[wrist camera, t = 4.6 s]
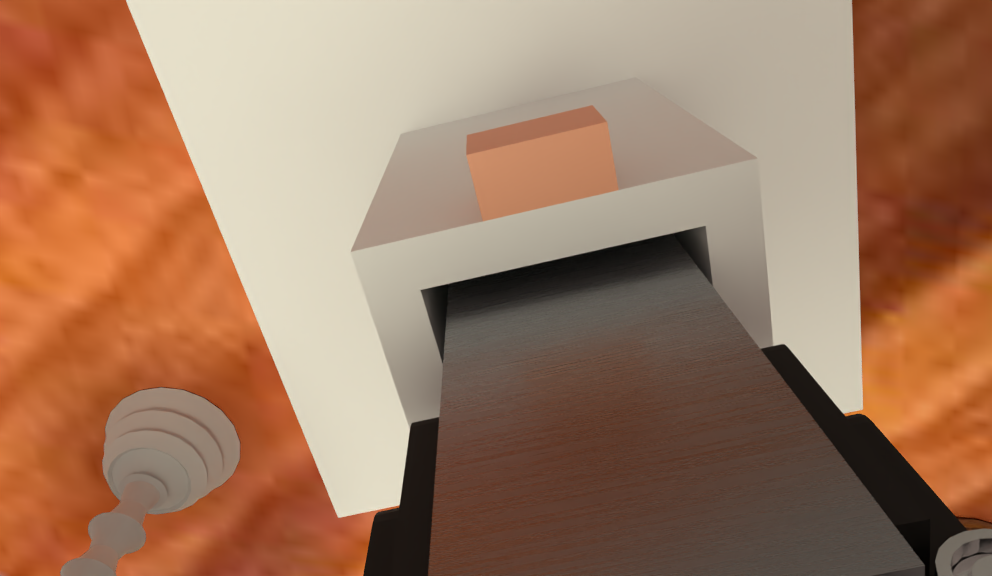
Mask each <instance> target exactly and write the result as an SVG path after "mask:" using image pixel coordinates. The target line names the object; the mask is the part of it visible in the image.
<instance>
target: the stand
mask: <svg viewBox="0 0 992 576" xmlns="http://www.w3.org/2000/svg"><path fill="white" fill-rule="evenodd" d="M126 2H127V4H128V7H129V9H130V11H131V14H132V16H133V19H134V21H135V24H136V26H137V28H138V31H139V33H140V36H141V38H142V41H143V43H144V46H145V48H146V50H147V53H148V55H149V58H150V60H151V63H152V65H153V67H154V70H155V72H156V75H157V77H158V80H159V82H160V85H161V87H162V89H163V92H164V94H165V97H166V99H167V102H168V104H169V106H170V109H171V111H172V114H173V116H174V119H175V121H176V124H177V126H178V128H179V131H180V133H181V136H182V138H183V141H184V143H185V145H186V148H187V150H188V153H189V155H190V158H191V160H192V163H193V165H194V167H195V170H196V172H197V175H198V177H199V180H200V182H201V184H202V187H203V189H204V192H205V194H206V197H207V199H208V202H209V204H210V206H211V209H212V211H213V214H214V216H215V219H216V221H217V223H218V226H219V228H220V231H221V233H222V236H223V238H224V241H225V243H226V245H227V248H228V250H229V253H230V255H231V258H232V260H233V262H234V265H235V267H236V270H237V272H238V275H239V277H240V280H241V282H242V284H243V287H244V289H245V292H246V294H247V297H248V299H249V301H250V304H251V306H252V309H253V311H254V314H255V316H256V319H257V321H258V323H259V326H260V328H261V331H262V333H263V336H264V338H265V340H266V343H267V345H268V348H269V350H270V353H271V355H272V358H273V360H274V362H275V365H276V367H277V370H278V372H279V375H280V377H281V379H282V382H283V384H284V387H285V389H286V392H287V394H288V397H289V399H290V401H291V404H292V406H293V409H294V411H295V414H296V416H297V418H298V421H299V423H300V426H301V428H302V431H303V433H304V436H305V438H306V440H307V443H308V445H309V448H310V450H311V453H312V455H313V457H314V460H315V462H316V465H317V467H318V470H319V472H320V474H321V477H322V479H323V482H324V484H325V487H326V489H327V492H328V494H329V496H330V499H331V501H332V504H333V506H334V509H335V511H336V513H337V516H338V518H340V517H345V516H349V515H354V514H359V513H364V512H369V511H374V510H379V509H383V508H388V507H393V506H398V505H400V499H401V492H402V484H403V477H404V470H405V462H406V455H407V448H408V440H409V433H410V426H411V423H413V422H418V421H422V420H427V419H432V418H436V417H439V415H440V401H441V387H442V373H443V359H444V345H445V331H446V317H447V303H448V289H449V283H454V282H458V281H463V280H467V279H471V278H476V277H480V276H485V275H489V274H494V273H498V272H503V271H507V270H511V269H516V268H520V267H525V266H529V265H534V264H538V263H542V262H547V261H551V260H556V259H560V258H565V257H569V256H573V255H578V254H582V253H587V252H591V251H596V250H600V249H605V248H609V247H613V246H618V245H622V244H627V243H631V242H636V241H640V240H644V239H649V238H653V237H658V236H662V235H667V234H671V233H672V234H673V235H674V236H675V237H676V239H677V240H678V241H679V243H680V244H681V245H682V247H683V248H684V249H685V251H686V252H687V253H688V255H689V256H690V257H691V258H692V260H693V261H694V262H695V264H696V265H697V266H698V268H699V269H700V270H701V272H702V273H703V274H704V276H705V277H706V278H707V280H708V281H709V282H710V283H711V285H712V286H713V287H714V289H715V290H716V291H717V293H718V294H719V295H720V297H721V298H722V299H723V301H724V302H725V303H726V305H727V306H728V307H729V308H730V310H731V311H732V312H733V314H734V315H735V316H736V318H737V319H738V320H739V322H740V323H741V324H742V326H743V327H744V328H745V330H746V331H747V332H748V333H749V335H750V336H751V337H752V339H753V340H754V341H755V343H756V344H757V345H758V347H759V348H760V349H761V348H766V347H771V346H775V345H780V344H785V345H786V346H787V347H788V348H789V349H790V350H791V351H792V353H793V354H794V355H795V356H796V357H797V359H798V360H799V361H800V362H801V363H802V365H803V366H804V367H805V368H806V369H807V371H808V372H809V373H810V374H811V376H812V377H813V378H814V379H815V380H816V382H817V383H818V384H819V385H820V386H821V388H822V389H823V390H824V391H825V392H826V394H827V395H828V396H829V397H830V398H831V400H832V401H833V402H834V403H835V404H836V406H837V407H838V408H839V409H840V410H841V412H842V413H848V412H853V411H858V410H863V391H862V354H861V317H860V280H859V243H858V206H857V169H856V132H855V95H854V58H853V21H852V0H126Z"/></svg>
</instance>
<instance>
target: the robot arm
mask: <svg viewBox="0 0 992 576" xmlns="http://www.w3.org/2000/svg"><path fill="white" fill-rule="evenodd" d="M761 351H762V352H763V353H764V355H765V356H766V357H767V358H768V360H769V361H770V362H771V364H772V365H773V366H774V368H775V369H776V370H777V372H778V373H779V374H780V376H781V377H782V378H783V380H784V381H785V382H786V383H787V385H788V386H789V387H790V389H791V390H792V391H793V393H794V394H795V395H796V397H797V398H798V399H799V401H800V402H801V403H802V405H803V406H804V407H805V408H806V410H807V411H808V412H809V414H810V415H811V416H812V418H813V419H814V420H815V422H816V423H817V424H818V426H819V427H820V428H821V430H822V431H823V432H824V433H825V435H826V436H827V437H828V439H829V440H830V441H831V443H832V444H833V445H834V447H835V448H836V449H837V451H838V452H839V453H840V455H841V456H842V457H843V458H844V460H845V461H846V462H847V464H848V465H849V466H850V468H851V469H852V470H853V472H854V473H855V474H856V476H857V477H858V478H859V480H860V481H861V482H862V483H863V485H864V486H865V487H866V489H867V490H868V491H869V493H870V494H871V495H872V497H873V498H874V499H875V501H876V502H877V503H878V505H879V506H880V507H881V508H882V510H883V511H884V512H885V514H886V515H887V516H888V518H889V519H890V520H891V522H892V523H893V524H894V526H895V527H896V528H897V530H898V531H899V532H900V533H901V535H902V536H903V537H904V539H905V540H906V541H907V543H908V544H909V545H910V547H911V548H912V549H913V551H914V552H915V553H916V555H917V556H918V557H919V558H920V560H921V561H922V562H923V564H924V565H925V576H992V529H977V530H970V531H968V530H967V529H966V528H965V527H964V526H963V524H962V523H961V522H960V521H959V520H958V519H957V518H956V517H955V515H954V514H953V513H952V512H951V511H950V510H949V509H948V507H947V506H946V505H945V504H944V503H943V502H942V501H941V499H940V498H939V497H938V496H937V495H936V494H935V493H934V491H933V490H932V489H931V488H930V487H929V486H928V485H927V484H926V482H925V481H924V480H923V479H922V478H921V477H920V476H919V474H918V473H917V472H916V471H915V470H914V469H913V468H912V466H911V465H910V464H909V463H908V462H907V461H906V460H905V458H904V457H903V456H902V455H901V454H900V453H899V452H898V451H897V449H896V448H895V447H894V446H893V445H892V444H891V443H890V441H889V440H888V439H887V438H886V437H885V436H884V435H883V433H882V432H881V431H880V430H879V429H878V428H877V427H876V426H875V424H874V423H873V422H872V421H871V420H870V419H869V418H868V417H866V416H865V415H862V414H855V415H850V416H845V415H844V414H843V413H842V412H841V410H840V409H839V408H838V407H837V406H836V404H835V403H834V402H833V401H832V400H831V398H830V397H829V396H828V395H827V394H826V392H825V391H824V390H823V389H822V388H821V386H820V385H819V384H818V383H817V382H816V380H815V379H814V378H813V377H812V376H811V374H810V373H809V372H808V371H807V369H806V368H805V367H804V366H803V365H802V363H801V362H800V361H799V360H798V359H797V357H796V356H795V355H794V354H793V353H792V351H791V350H790V349H789V348H788V347H787V346H786V345H785V344H780V345H775V346H771V347H766V348H761ZM438 429H439V417H436V418H432V419H427V420H422V421H418V422H413V423H411V426H410V433H409V440H408V448H407V455H406V462H405V470H404V477H403V484H402V492H401V499H400V506H399V508H396V509H391V510H386V511H381V512H378V513H377V514H376V515H375V517H374V521H373V525H372V530H371V536H370V542H369V547H368V553H367V558H366V564H365V569H364V575H363V576H428V569H429V555H430V541H431V527H432V513H433V499H434V485H435V471H436V457H437V443H438Z"/></svg>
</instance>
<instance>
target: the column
mask: <svg viewBox="0 0 992 576" xmlns="http://www.w3.org/2000/svg"><path fill="white" fill-rule="evenodd" d="M428 576H925V565H924V564H923V562H922V561H921V560H920V558H919V557H918V556H917V555H916V553H915V552H914V551H913V549H912V548H911V547H910V545H909V544H908V543H907V541H906V540H905V539H904V537H903V536H902V535H901V533H900V532H899V531H898V530H897V528H896V527H895V526H894V524H893V523H892V522H891V520H890V519H889V518H888V516H887V515H886V514H885V512H884V511H883V510H882V508H881V507H880V506H879V505H878V503H877V502H876V501H875V499H874V498H873V497H872V495H871V494H870V493H869V491H868V490H867V489H866V487H865V486H864V485H863V483H862V482H861V481H860V480H859V478H858V477H857V476H856V474H855V473H854V472H853V470H852V469H851V468H850V466H849V465H848V464H847V462H846V461H845V460H844V458H843V457H842V456H841V455H840V453H839V452H838V451H837V449H836V448H835V447H834V445H833V444H832V443H831V441H830V440H829V439H828V437H827V436H826V435H825V433H824V432H823V431H822V430H821V428H820V427H819V426H818V424H817V423H816V422H815V420H814V419H813V418H812V416H811V415H810V414H809V412H808V411H807V410H806V408H805V407H804V406H803V405H802V403H801V402H800V401H799V399H798V398H797V397H796V395H795V394H794V393H793V391H792V390H791V389H790V387H789V386H788V385H787V383H786V382H785V381H784V380H783V378H782V377H781V376H780V374H779V373H778V372H777V370H776V369H775V368H774V366H773V365H772V364H771V362H770V361H769V360H768V358H767V357H766V356H765V355H764V353H763V352H762V351H761V349H760V348H759V347H758V345H757V344H756V343H755V341H754V340H753V339H752V337H751V336H750V335H749V333H748V332H747V331H746V330H745V328H744V327H743V326H742V324H741V323H740V322H739V320H738V319H737V318H736V316H735V315H734V314H733V312H732V311H731V310H730V308H729V307H728V306H727V305H726V303H725V302H724V301H723V299H722V298H721V297H720V295H719V294H718V293H717V291H716V290H715V289H714V287H713V286H712V285H711V283H710V282H709V281H708V280H707V278H706V277H705V276H704V274H703V273H702V272H701V270H700V269H699V268H698V266H697V265H696V264H695V262H694V261H693V260H692V258H691V257H690V256H689V255H688V253H687V252H686V251H685V249H684V248H683V247H682V245H681V244H680V243H679V241H678V240H677V239H676V237H675V236H674V235H673V234H672V233H671V234H667V235H662V236H658V237H653V238H649V239H644V240H640V241H636V242H631V243H627V244H622V245H618V246H613V247H609V248H605V249H600V250H596V251H591V252H587V253H582V254H578V255H573V256H569V257H565V258H560V259H556V260H551V261H547V262H542V263H538V264H534V265H529V266H525V267H520V268H516V269H511V270H507V271H503V272H498V273H494V274H489V275H485V276H480V277H476V278H471V279H467V280H463V281H458V282H454V283H449V289H448V303H447V317H446V331H445V345H444V359H443V373H442V387H441V401H440V415H439V429H438V443H437V457H436V471H435V485H434V499H433V513H432V527H431V541H430V555H429V569H428Z"/></svg>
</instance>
